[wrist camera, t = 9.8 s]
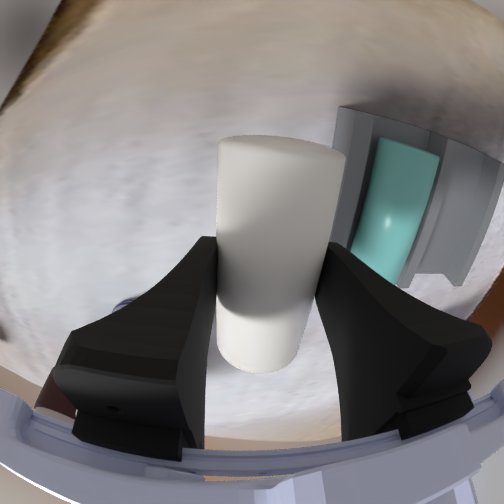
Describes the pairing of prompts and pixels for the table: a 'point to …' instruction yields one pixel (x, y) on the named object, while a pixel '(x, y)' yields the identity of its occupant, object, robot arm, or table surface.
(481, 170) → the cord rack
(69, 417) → the coffee cup
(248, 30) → the table surface
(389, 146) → the teal rod
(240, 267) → the white rod
